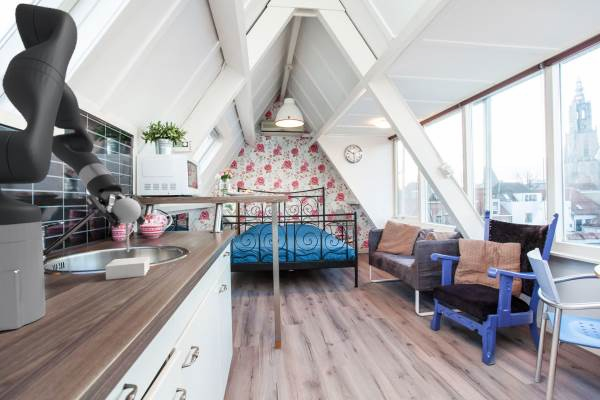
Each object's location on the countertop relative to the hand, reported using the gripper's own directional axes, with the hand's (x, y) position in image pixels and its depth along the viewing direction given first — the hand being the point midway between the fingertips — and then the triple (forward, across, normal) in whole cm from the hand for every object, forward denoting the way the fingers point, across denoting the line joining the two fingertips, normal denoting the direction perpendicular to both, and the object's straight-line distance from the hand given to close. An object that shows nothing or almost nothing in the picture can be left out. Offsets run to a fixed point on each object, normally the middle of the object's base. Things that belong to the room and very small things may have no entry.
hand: (131, 223), depth 84 cm
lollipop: (+5, 0, +7) cm, 8 cm away
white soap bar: (+9, 0, +11) cm, 14 cm away
